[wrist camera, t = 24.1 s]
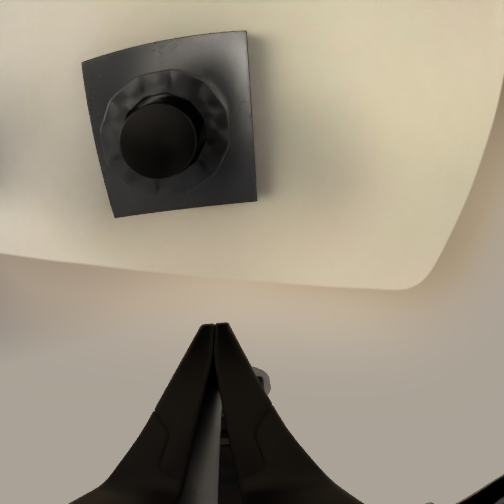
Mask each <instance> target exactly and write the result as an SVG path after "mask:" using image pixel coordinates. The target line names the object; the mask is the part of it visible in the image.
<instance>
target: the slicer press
mask: <svg viewBox="0 0 504 504" xmlns="http://www.w3.org/2000/svg"><path fill="white" fill-rule="evenodd" d="M82 71H83V78H84V85H85V92H86V98H87V104H88V110H89V115H90V121H91V126H92V131H93V136H94V140H95V145H96V149H97V154H98V158H99V162H100V166H101V170H102V174H103V178H104V182H105V186H106V189H107V193H108V197H109V200H110V204H111V207H112V210H113V214H114V217H115V218H118V217H125V216H132V215H139V214H146V213H154V212H162V211H170V210H178V209H186V208H195V207H204V206H213V205H223V204H233V203H243V202H254V201H257V189H256V172H255V155H254V139H253V122H252V107H251V91H250V76H249V61H248V46H247V31H231V32H219V33H209V34H201V35H194V36H187V37H180V38H174V39H169V40H163V41H158V42H153V43H149V44H144V45H140V46H136V47H132V48H128V49H124V50H120V51H117V52H113V53H110V54H106V55H103V56H100V57H97V58H93V59H90V60H87V61H84V62H82ZM162 99H169V100H174V101H178V102H180V103H182V104H184V105H185V106H187V107H188V108H189V109H190V110H191V111H192V112H193V114H194V115H195V117H196V119H197V121H198V124H199V131H200V135H199V141H198V145H197V148H196V151H195V154H194V156H193V158H192V160H191V162H190V163H189V165H188V166H187V167H186V168H185V169H184V170H183V171H181V172H180V173H178V174H177V175H175V176H172V177H170V178H166V179H149V178H146V177H143V176H141V175H139V174H137V173H135V172H134V171H133V170H132V169H131V168H130V167H129V166H128V165H127V164H126V163H125V161H124V159H123V157H122V155H121V151H120V147H119V137H120V132H121V129H122V126H123V124H124V122H125V121H126V119H127V118H128V117H129V116H130V115H131V114H132V113H133V112H134V111H136V110H137V109H139V108H141V107H142V106H144V105H146V104H148V103H150V102H153V101H156V100H162Z"/></svg>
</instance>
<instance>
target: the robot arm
mask: <svg viewBox="0 0 504 504" xmlns="http://www.w3.org/2000/svg"><path fill="white" fill-rule="evenodd" d="M69 504H364V503H362V502H361V501H359V500H358V499H356V498H355V497H353V496H352V495H350V494H349V493H348V492H346V491H345V490H343V489H342V488H341V487H339V486H338V485H336V484H335V483H334V482H333V481H332V480H331V479H330V478H329V477H328V476H326V474H325V473H324V472H323V471H322V470H321V469H320V468H319V467H318V466H317V465H316V463H315V462H314V461H313V460H312V459H311V458H310V456H309V455H308V454H307V453H306V452H305V450H304V449H303V448H302V447H301V446H300V445H299V443H298V442H297V441H296V440H295V438H294V437H293V436H292V434H291V433H290V432H289V430H288V429H287V428H286V426H285V424H284V423H283V421H282V420H281V418H280V416H279V415H278V413H277V411H276V410H275V408H274V406H273V405H272V403H271V401H270V399H269V397H268V396H267V394H266V392H265V390H264V379H263V377H262V376H256V374H255V372H254V370H253V369H252V367H251V365H250V363H249V361H248V359H247V357H246V356H245V354H244V352H243V350H242V348H241V346H240V344H239V342H238V340H237V339H236V337H235V335H234V333H233V331H232V329H231V327H230V325H229V323H226V322H225V323H216V324H215V325H214V324H204V325H201V327H200V328H199V330H198V332H197V334H196V335H195V337H194V339H193V341H192V343H191V344H190V346H189V348H188V350H187V352H186V354H185V355H184V357H183V359H182V361H181V362H180V364H179V366H178V368H177V370H176V372H175V373H174V375H173V377H172V379H171V380H170V382H169V384H168V386H167V388H166V389H165V391H164V393H163V395H162V397H161V399H160V401H159V402H158V404H157V406H156V408H155V411H154V412H153V413H152V415H151V417H150V418H149V420H148V422H147V424H146V426H145V427H144V429H143V430H142V432H141V434H140V435H139V437H138V438H137V440H136V441H135V443H134V444H133V445H132V447H131V448H130V450H129V451H128V452H127V454H126V455H125V456H124V458H123V459H122V461H121V462H120V463H119V465H118V466H117V467H116V469H115V470H114V471H113V473H112V474H111V475H110V477H109V478H108V479H107V480H106V481H105V482H104V483H103V484H102V485H100V486H99V487H98V488H96V489H94V490H93V491H91V492H89V493H87V494H85V495H84V496H82V497H80V498H78V499H76V500H74V501H73V502H71V503H69ZM427 504H433V503H427ZM456 504H504V475H502V476H500V477H499V478H497V479H495V480H494V481H492V482H491V483H489V484H487V485H486V486H484V487H483V488H481V489H480V490H478V491H477V492H475V493H473V494H472V495H470V496H468V497H467V498H465V499H463V500H462V501H460V502H458V503H456Z"/></svg>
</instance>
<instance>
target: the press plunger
mask: <svg viewBox="0 0 504 504" xmlns="http://www.w3.org/2000/svg"><path fill="white" fill-rule="evenodd" d="M199 135H200V131H199V124H198V121H197V119H196V117H195V115H194V114H193V112H192V111H191V110H190V109H189V108H188V107H187V106H185V105H184V104H182V103H180V102H178V101H174V100H169V99H162V100H156V101H153V102H150V103H148V104H146V105H144V106H142V107H141V108H139V109H137V110H136V111H134V112H133V113H132V114H131V115H130V116H129V117H128V118H127V119H126V121H125V122H124V124H123V126H122V129H121V132H120V137H119V147H120V151H121V155H122V157H123V159H124V161H125V163H126V164H127V165H128V166H129V167H130V168H131V169H132V170H133V171H134V172H135V173H137V174H139V175H141V176H143V177H146V178H149V179H166V178H170V177H172V176H175V175H177V174H178V173H180V172H181V171H183V170H184V169H185V168H186V167H187V166H188V165H189V163H190V162H191V160H192V158H193V156H194V154H195V151H196V148H197V145H198V141H199Z"/></svg>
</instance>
